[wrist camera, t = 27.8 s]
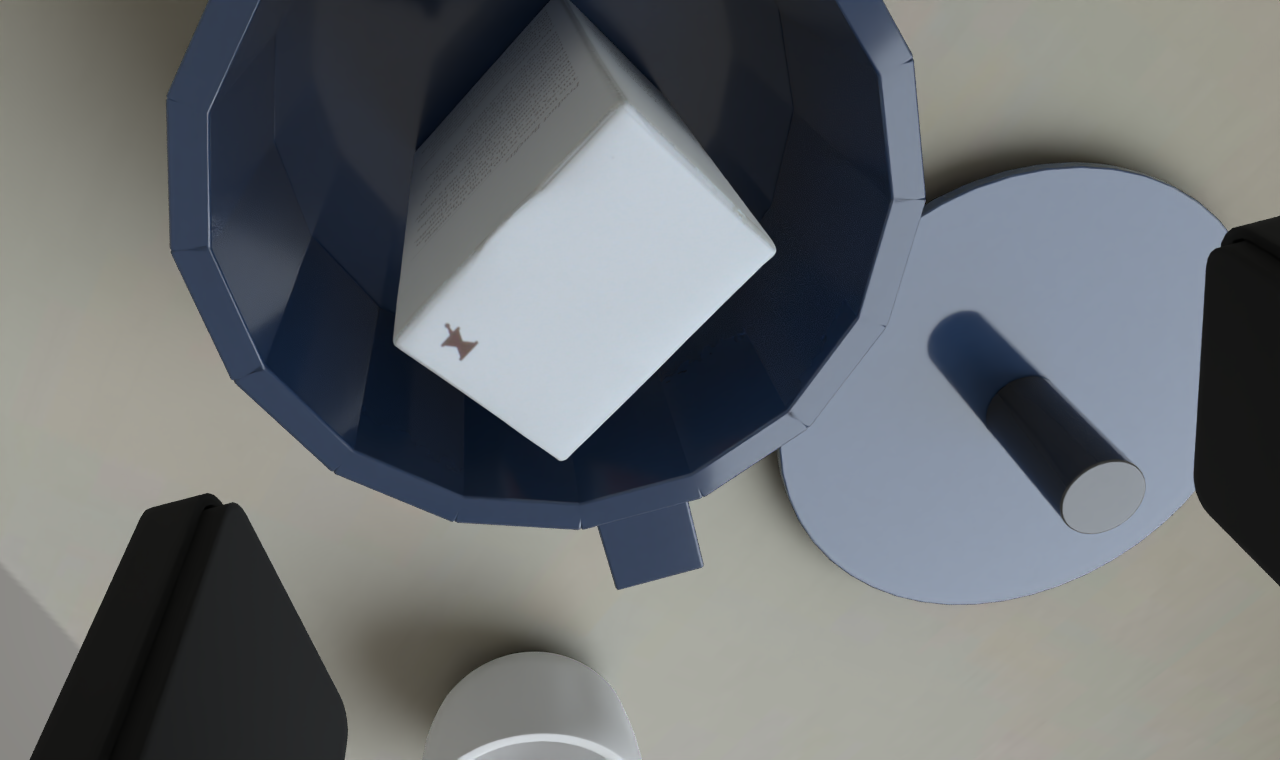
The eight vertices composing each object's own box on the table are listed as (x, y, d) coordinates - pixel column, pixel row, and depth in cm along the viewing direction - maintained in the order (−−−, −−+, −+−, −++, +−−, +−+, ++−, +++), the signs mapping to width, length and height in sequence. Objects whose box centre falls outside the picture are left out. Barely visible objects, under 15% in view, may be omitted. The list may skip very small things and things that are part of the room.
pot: (747, -402, 25) (866, -489, 17) (852, 368, 35) (955, 519, 28) (91, -237, 24) (-73, -254, 17) (391, 490, 35) (371, 675, 27)
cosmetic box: (527, 249, 31) (556, 475, 21) (410, 152, 29) (378, 346, 19) (675, 95, 29) (787, 254, 19) (561, -18, 28) (617, 90, 17)
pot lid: (1257, 95, 32) (1417, 154, 27) (1227, 520, 41) (1345, 632, 35) (731, 233, 32) (785, 322, 27) (807, 633, 40) (860, 764, 35)
